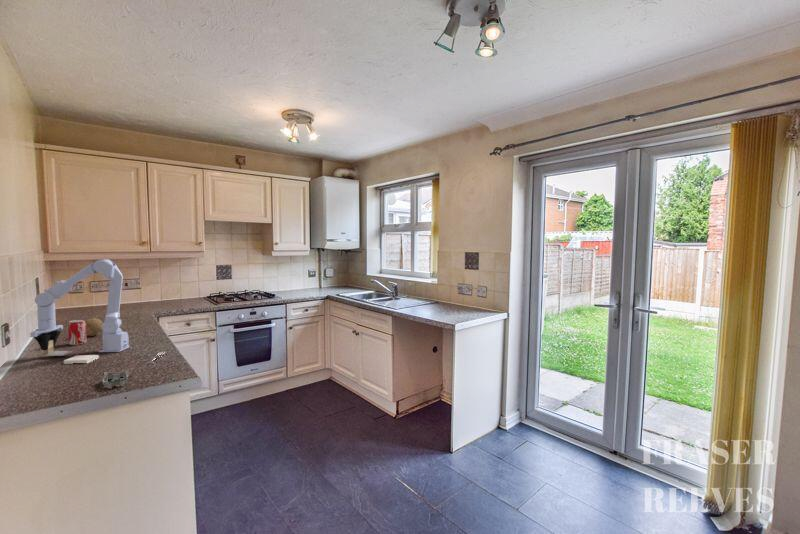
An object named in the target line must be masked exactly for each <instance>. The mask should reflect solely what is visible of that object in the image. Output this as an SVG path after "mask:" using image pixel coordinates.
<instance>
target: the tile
mask: <svg viewBox="0 0 800 534" xmlns="http://www.w3.org/2000/svg"><path fill="white" fill-rule="evenodd" d="M95 359H96V360H98V359H100V357H99V354H85V355H84V354H82V355H79V354H78V355H77V354H76V355H73V356H71V357H69V358H67V359H64V360H63V365H74V364H73V363H87V364H89V363H92V362H94V361H96V360H95ZM93 360H94V361H93Z"/></svg>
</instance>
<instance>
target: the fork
mask: <svg viewBox="0 0 800 534" xmlns="http://www.w3.org/2000/svg"><path fill="white" fill-rule="evenodd" d="M165 352H166V351H162V352H161V351H159V352H158V353H157V354H156V356H157V355H158V356H159V355H161V354H162V355H163V354H164V355H165ZM155 359H156V358H155V357H154V358H153V359H152V360H151V361H153V360H155Z"/></svg>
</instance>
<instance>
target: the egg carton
mask: <svg viewBox="0 0 800 534" xmlns="http://www.w3.org/2000/svg"><path fill="white" fill-rule="evenodd" d="M103 373H104V374H103V377H102V384H103V388H104V387H108V388H109V387H112V386H114V385H123V384H125V383H127V384H128V377H129V375H130V371H129V370H125V371H121V372H120V371H117V372H116V374H114V373H113V372H112V371H107V370H105V371H104V372H103ZM122 376H123V378H119V377H122ZM111 378H112V380H109V381H108V379H111Z"/></svg>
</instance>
